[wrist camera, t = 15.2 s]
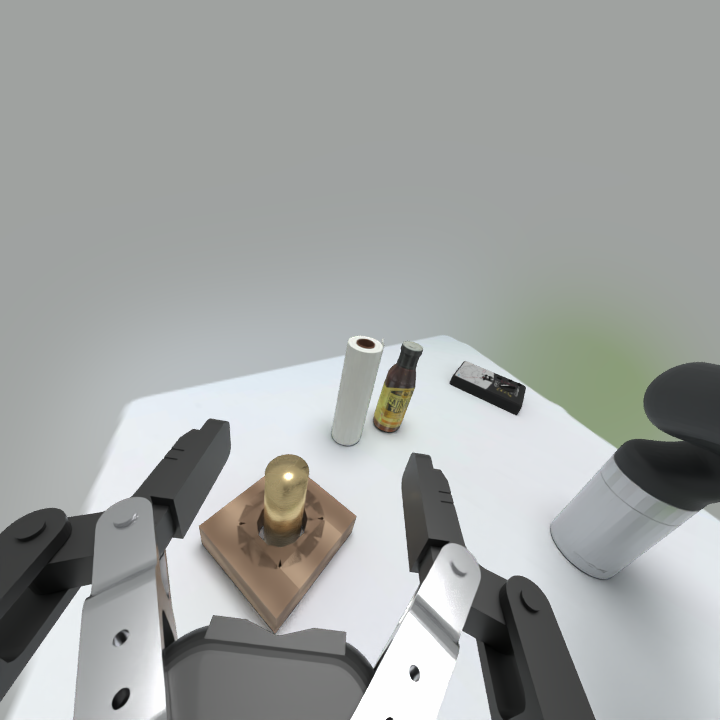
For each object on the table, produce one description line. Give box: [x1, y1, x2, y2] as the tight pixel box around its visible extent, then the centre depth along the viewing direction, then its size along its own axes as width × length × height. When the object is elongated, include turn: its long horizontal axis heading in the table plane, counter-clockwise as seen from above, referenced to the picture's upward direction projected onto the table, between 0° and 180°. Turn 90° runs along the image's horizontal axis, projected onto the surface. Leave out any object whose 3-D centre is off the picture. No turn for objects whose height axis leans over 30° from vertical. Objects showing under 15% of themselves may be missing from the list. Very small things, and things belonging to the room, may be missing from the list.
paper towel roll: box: [331, 336, 384, 446], centre depth 52 cm, size 7×6×21 cm
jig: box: [199, 476, 356, 633], centre depth 38 cm, size 14×14×4 cm
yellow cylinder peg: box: [264, 454, 309, 547], centre depth 35 cm, size 5×5×14 cm
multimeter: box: [450, 361, 526, 415], centre depth 83 cm, size 13×19×5 cm
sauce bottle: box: [374, 341, 423, 432], centre depth 58 cm, size 6×6×20 cm
